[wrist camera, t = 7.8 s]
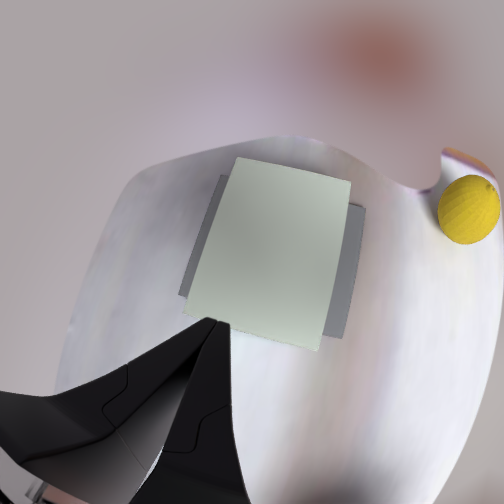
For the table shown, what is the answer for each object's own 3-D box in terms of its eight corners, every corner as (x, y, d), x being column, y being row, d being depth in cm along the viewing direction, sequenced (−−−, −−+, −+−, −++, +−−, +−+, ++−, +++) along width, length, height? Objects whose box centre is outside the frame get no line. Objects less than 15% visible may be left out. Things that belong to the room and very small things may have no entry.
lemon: (427, 193, 23) (467, 147, 15) (467, 215, 22) (511, 179, 14) (419, 241, 21) (469, 202, 14) (462, 263, 20) (516, 235, 13)
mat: (340, 338, 20) (342, 338, 19) (180, 295, 22) (178, 294, 21) (363, 211, 23) (365, 208, 22) (222, 178, 24) (220, 174, 24)
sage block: (317, 351, 14) (351, 182, 17) (182, 313, 15) (237, 157, 18) (306, 347, 19) (336, 213, 22) (203, 318, 20) (244, 191, 23)
